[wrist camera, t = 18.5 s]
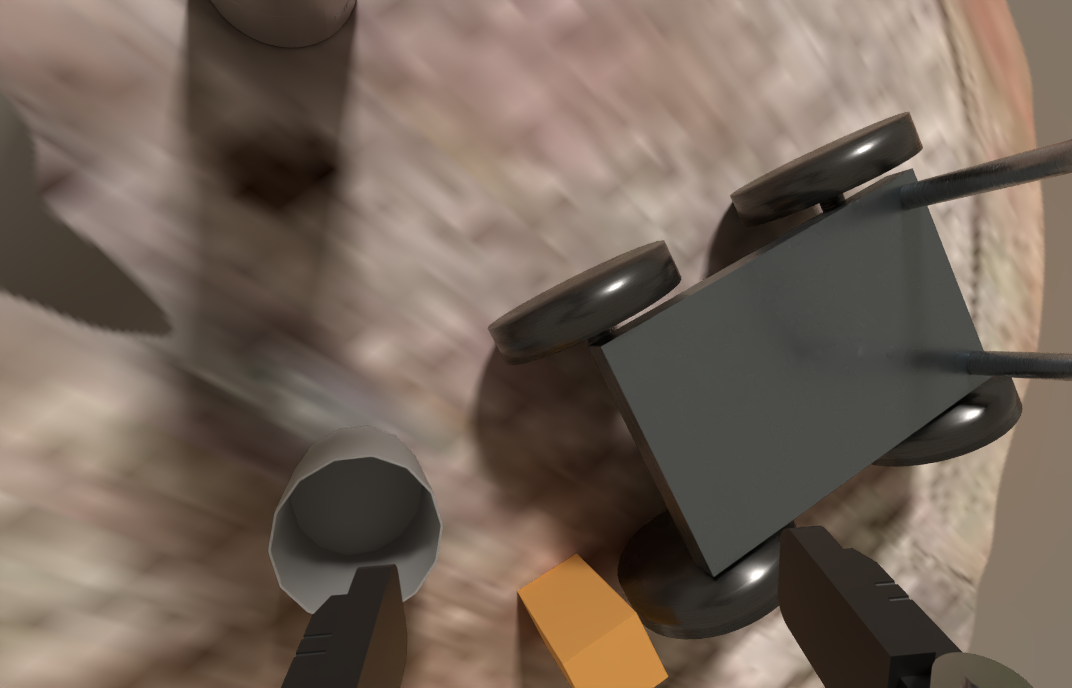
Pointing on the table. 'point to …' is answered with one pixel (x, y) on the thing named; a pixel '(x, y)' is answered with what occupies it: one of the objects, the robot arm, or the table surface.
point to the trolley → (788, 366)
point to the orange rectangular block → (591, 629)
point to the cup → (354, 517)
